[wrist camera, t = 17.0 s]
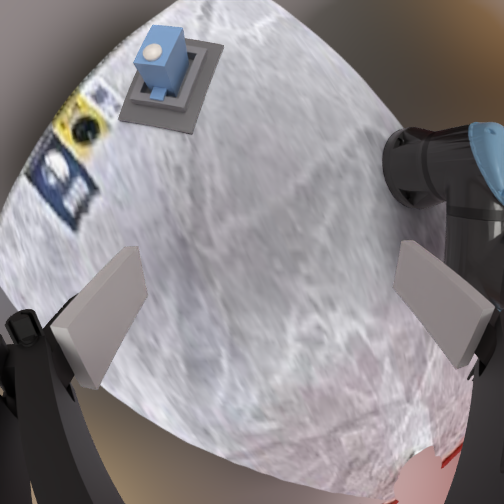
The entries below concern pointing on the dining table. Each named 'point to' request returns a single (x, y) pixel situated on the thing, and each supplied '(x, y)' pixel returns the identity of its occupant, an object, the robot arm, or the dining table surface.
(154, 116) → the chassis
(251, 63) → the dining table surface
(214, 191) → the dining table surface
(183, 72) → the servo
